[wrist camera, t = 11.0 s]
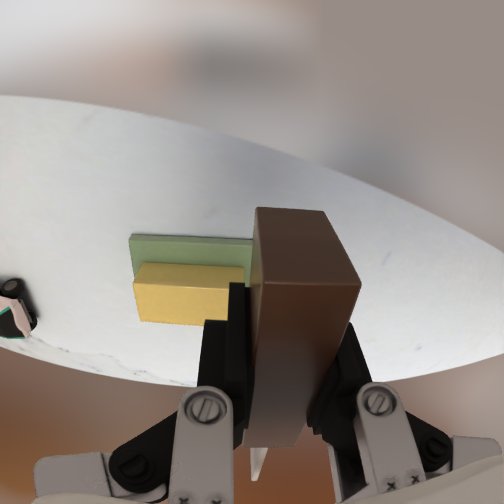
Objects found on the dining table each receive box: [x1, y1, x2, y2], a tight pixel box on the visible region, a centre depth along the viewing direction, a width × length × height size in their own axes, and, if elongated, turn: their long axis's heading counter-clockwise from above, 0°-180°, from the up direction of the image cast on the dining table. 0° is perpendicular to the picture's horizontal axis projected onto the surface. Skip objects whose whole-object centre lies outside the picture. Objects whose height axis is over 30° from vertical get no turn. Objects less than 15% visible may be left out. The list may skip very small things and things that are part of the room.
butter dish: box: [129, 234, 253, 326], centre depth 25 cm, size 8×16×4 cm, turn 86°
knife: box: [242, 207, 362, 481], centre depth 11 cm, size 15×2×4 cm, turn 176°
